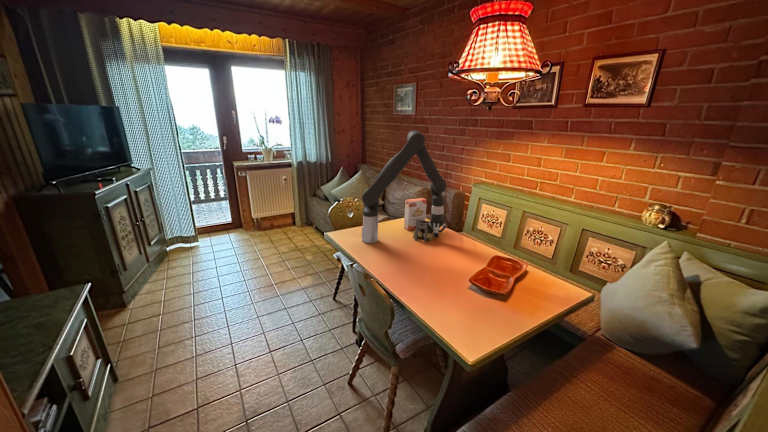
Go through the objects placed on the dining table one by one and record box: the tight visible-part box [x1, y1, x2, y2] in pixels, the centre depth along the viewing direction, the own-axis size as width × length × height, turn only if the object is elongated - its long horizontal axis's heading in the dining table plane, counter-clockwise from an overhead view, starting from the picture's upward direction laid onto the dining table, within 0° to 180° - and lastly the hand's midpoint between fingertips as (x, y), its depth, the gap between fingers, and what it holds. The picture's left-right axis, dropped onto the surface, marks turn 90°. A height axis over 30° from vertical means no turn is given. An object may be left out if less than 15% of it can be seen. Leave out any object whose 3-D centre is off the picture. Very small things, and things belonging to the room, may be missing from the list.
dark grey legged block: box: [414, 220, 434, 243], centre depth 190 cm, size 12×12×10 cm
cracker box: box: [403, 197, 428, 231], centre depth 205 cm, size 14×6×21 cm, turn 115°
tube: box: [412, 229, 434, 242], centre depth 191 cm, size 12×5×5 cm, turn 66°
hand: (436, 238), depth 188 cm, fingers closed
